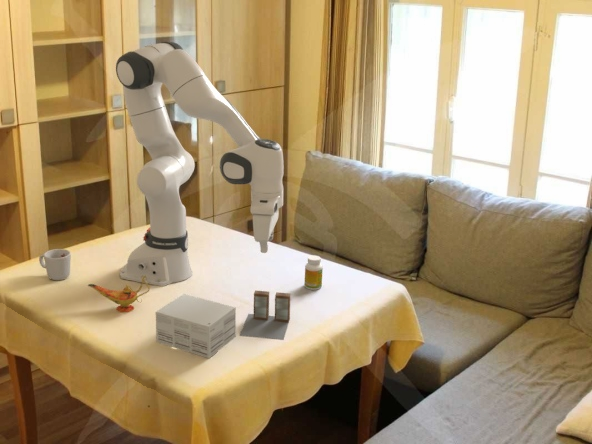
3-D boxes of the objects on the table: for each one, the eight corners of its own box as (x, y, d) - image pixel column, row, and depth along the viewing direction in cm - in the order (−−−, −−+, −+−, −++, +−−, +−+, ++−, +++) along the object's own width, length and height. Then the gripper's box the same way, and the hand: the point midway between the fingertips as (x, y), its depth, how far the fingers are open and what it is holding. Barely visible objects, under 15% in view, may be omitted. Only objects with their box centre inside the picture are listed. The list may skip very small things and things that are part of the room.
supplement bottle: (320, 291, 231) (321, 262, 228) (302, 289, 232) (304, 260, 229) (323, 284, 236) (324, 255, 233) (306, 282, 237) (307, 253, 234)
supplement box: (236, 338, 202) (236, 306, 199) (209, 359, 191) (209, 326, 188) (184, 322, 209) (184, 292, 206) (155, 342, 198) (154, 310, 195)
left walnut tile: (253, 319, 211) (253, 293, 209) (254, 316, 213) (255, 290, 211) (267, 320, 211) (268, 294, 208) (268, 317, 213) (269, 291, 210)
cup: (32, 277, 233) (30, 254, 230) (49, 268, 240) (47, 245, 237) (61, 284, 229) (59, 260, 227) (77, 274, 236) (76, 251, 234)
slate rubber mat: (239, 336, 202) (239, 335, 202) (248, 315, 215) (248, 313, 214) (283, 341, 201) (283, 339, 201) (290, 318, 213) (290, 317, 213)
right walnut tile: (274, 321, 211) (275, 295, 208) (275, 317, 213) (276, 292, 210) (288, 322, 210) (289, 296, 207) (289, 319, 212) (290, 293, 209)
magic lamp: (93, 300, 220) (91, 266, 216) (153, 305, 218) (152, 270, 215) (85, 311, 213) (82, 275, 210) (147, 315, 212) (145, 280, 208)
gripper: (262, 187, 217) (262, 232, 221) (249, 209, 197) (249, 258, 202) (284, 188, 216) (283, 233, 221) (272, 211, 197) (272, 260, 201)
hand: (266, 245), depth 211 cm, fingers open, 8 cm apart
